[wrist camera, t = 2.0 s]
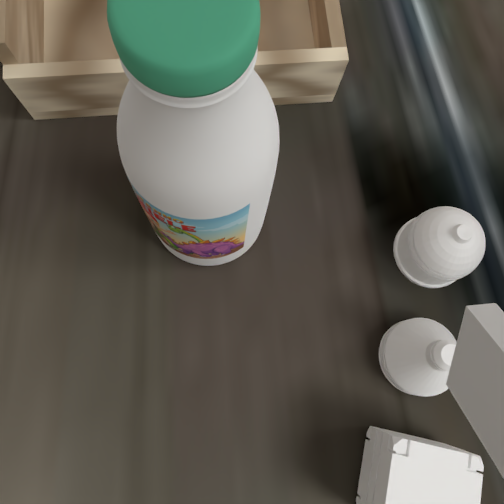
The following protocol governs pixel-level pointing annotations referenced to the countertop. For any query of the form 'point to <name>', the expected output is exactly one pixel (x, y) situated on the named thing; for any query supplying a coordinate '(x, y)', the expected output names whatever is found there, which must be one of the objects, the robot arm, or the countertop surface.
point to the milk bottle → (196, 122)
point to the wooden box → (113, 76)
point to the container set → (424, 371)
